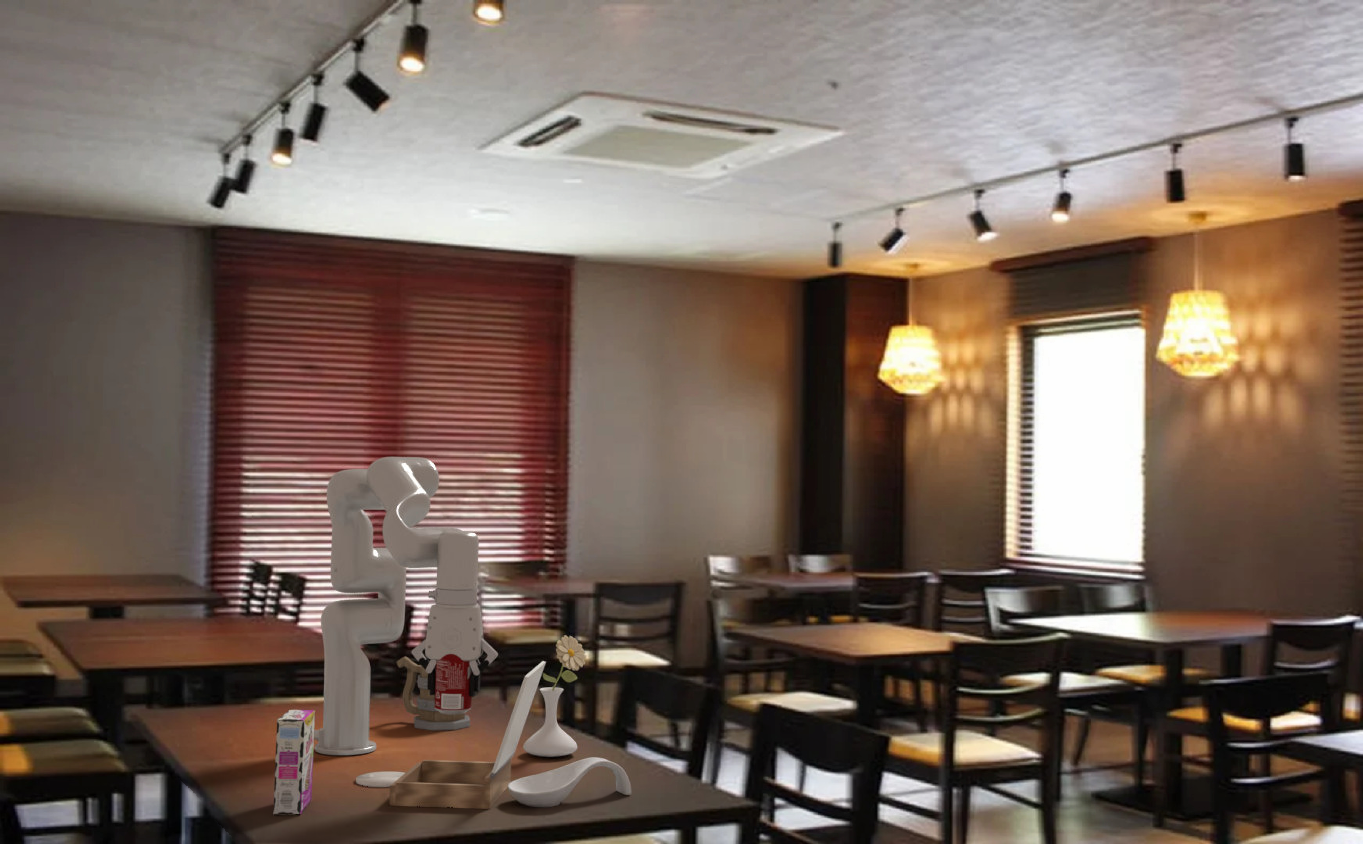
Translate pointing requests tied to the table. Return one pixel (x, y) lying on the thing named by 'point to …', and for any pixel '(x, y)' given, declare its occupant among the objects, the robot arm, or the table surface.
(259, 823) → the table surface
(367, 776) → the disc
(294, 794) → the candy bar box
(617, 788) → the spoon rest
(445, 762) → the open wooden box
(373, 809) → the table surface
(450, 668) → the soda can
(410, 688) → the tankard
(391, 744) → the table surface
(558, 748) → the flower in vase
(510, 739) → the lid
